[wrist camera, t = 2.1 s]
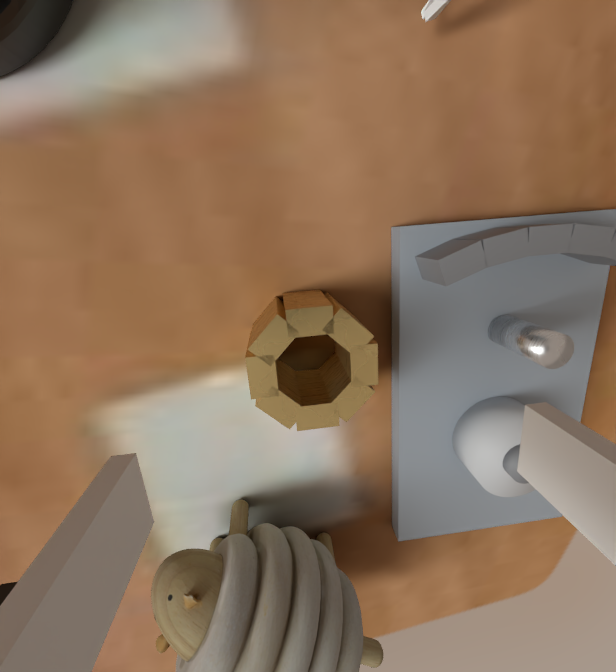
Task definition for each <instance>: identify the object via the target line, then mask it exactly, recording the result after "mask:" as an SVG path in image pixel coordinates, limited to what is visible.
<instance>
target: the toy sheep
mask: <svg viewBox="0 0 616 672" xmlns="http://www.w3.org/2000/svg"><path fill="white" fill-rule="evenodd" d="M248 510H249V506H248V503H247V502H246V501H245V500H237V501H236V502H235V503H234V504H233V506H232V513H231V521H230V530H229V535H228V537H226V538H225V539H223V538H216V539H214V540H213V541H212V542H211V545H210V550H204V549H186V550H182V551H179V552H176V553H174V554H172V555H171V556H169V557H168V558H166V559H165V560H164V561H163V563H162V564H161V565H160V567H159V568H158V570H157V572H156V574H155V576H154V579H153V583H152V590H151V599H152V608H153V612H154V616H155V620H156V622H157V624H158V626H159V628H160V630H161V632H162V635H160V636H159V637H158V638H157V640H156V648H157V651H158V652H159V653H163V652H165V651H166V650H167V649H168V647H169V646H171V647H172V648H173V649H174V651H175V652H176V653H177V661H176V672H359V668H360V664H363V665H367V666H370V667H378V666H379V665H380V664H381V663H382V660H383V650H382V647H381V644H380V643H379V642H378V641H377V640H375V639H372V638H368V637H365V636H363V628H362V618H361V610H360V606H359V602H358V598H357V595H356V592H355V589H354V587H353V585H352V583H351V581H350V580H349V578H348V577H347V576H346V574H345V573H344V572H342V571H341V570H340V569H338V568H337V566H336V563H335V557H334V551H333V546H332V540H331V537H330V535H329V534H328V533H320V534H319V535H318V536H317V538H316V540H314V539H309V537H308V536H307V535H306V533H304V532H303V531H302V530H301V529H299V528H296V527H291V526H288V527H283V528H281V529H279V528H278V527H276V526H274V525H272V524H270V523H263V524H260V525H257V526H255V527H253V528H252V529H251V530H250V531H249V532H248V530H247V527H248Z"/></svg>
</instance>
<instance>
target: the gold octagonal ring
mask: <svg viewBox="0 0 616 672" xmlns="http://www.w3.org/2000/svg"><path fill="white" fill-rule="evenodd" d="M326 334H327V335H329V336H330V337H331V338H332V339H334V340H335V352H334V353H333V354H332V355H331V356H330V357H329V358H328V359H327V360H326V362H325V363H324V364H323V365H322V366H321V367H320V368H319V369H310V370H301V371H295V370H294V369H292V368H291V367H290V366H288V365H287V364H286V363H284V362H283V361H282V360H280V359H279V358H278V357H279V356H280V355H281V354H282V353H283V351H284V350H285V349H286V348H287V347H288V346H289V344H290V343H291V342H292V341H293V340H294V339H295V338H297V337H306V336H316V335H326ZM373 337H374V335H373V334H372V333H371V332H370V331H369V330H368V329H367V328H366V327H365V326H364V325H363V324H362V323H361V322H360V321H359V320H358V319H357V318H356V317H355V316H354V315H353V314H352V313H351V312H349V311H348V310H347V309H346V308H345V307H344V306H342V305H341V304H340V303H339V302H338V301H337V300H335V299H334V298H333V297H332V296H331V295H329V294H328V293H327V292H325V293H324V294H323V293H322V292H321V291H320V290H309V291H298V292H288V293H283V301H281V300H280V299H279V298H278V297H275V298H274V299H273V301H272V302H271V303H270V304H269V306H268V307H267V308H266V309H265V310H264V312H263V313H262V314H261V315H260V316H259V318H258V319H257V320H256V321H255V322H254V324H253V326H252V331H251V333H250V338H249V343H248V347H247V352H246V357H245V359H246V366H247V373H248V380H249V387H250V394H251V399H256V407H258V408H259V409H261V410H262V411H264V412H265V413H267V414H268V415H270V416H271V417H272V418H274V419H275V420H277V421H278V422H280V423H281V424H283V425H284V426H286V427H287V428H289V429H290V428H291V427H292V426H293V425H294V424H295V423H296V424H297V431H301V430H309V429H317V428H325V427H333V426H339V417H340V418H342V419H343V420H344V421H346V422H347V421H348V420H349V419H350V418H351V417H352V416H353V415H354V414H355V413H356V412H357V411H358V410H359V408H360V407H361V406H362V405H363V404H364V403H365V402H366V401H367V400H368V399H369V398H370V397H371V396H372V395H373V394H374V393H375V391H374V389H373V387H372V386H371V385H378V343H377V342H376V341H375V340H374V339H373Z"/></svg>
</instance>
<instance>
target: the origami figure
mask: <svg viewBox="0 0 616 672" xmlns="http://www.w3.org/2000/svg"><path fill="white" fill-rule="evenodd" d="M450 1H451V0H428V2H427V3H426V5H425V6H424V8H423V9H422V11H421V14H422V18H423V19H425V20H426V22H427V21H430V20H433V19H436V17H437V16H438V15H439V14H440V13H441V11H442V10H443V9H444V8H445V7H446V5H447V4H448V3H449V2H450Z"/></svg>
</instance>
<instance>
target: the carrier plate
mask: <svg viewBox="0 0 616 672" xmlns="http://www.w3.org/2000/svg"><path fill="white" fill-rule="evenodd" d="M391 247H392V527H393V530H394V532H395V535H396V537H397V539H398V542H399V541H405V540H412V539H418V538H425V537H431V536H438V535H444V534H451V533H457V532H464V531H471V530H477V529H484V528H490V527H497V526H503V525H510V524H516V523H523V522H529V521H536V520H542V519H549V518H555V517H562V514H561V513H560V512H559V511H558V510H557V509H556V508H555V507H554V506H553V505H552V504H551V503H550V502H549V501H547V500H546V499H545V498H544V497H543V496H542V495H541V494H540V493H539V492H538V491H537V490H536V489H535V488H534V487H533V486H532V485H531V484H530V483H529V482H528V481H527V480H526V479H525V478H523V477H522V476H521V475H520V474H519V473H518V472H517V468H518V459H519V451H520V443H521V434H522V426H523V418H524V410H525V405H527V404H535V403H543V402H546V403H548V404H550V405H551V406H553V407H555V408H556V409H558V410H560V411H561V412H563V413H565V414H566V415H568V416H570V417H571V418H573V419H575V420H576V421H578V422H580V421H581V416H582V410H583V405H584V400H585V395H586V389H587V384H588V379H589V374H590V369H591V363H592V358H593V353H594V348H595V342H596V337H597V332H598V327H599V321H600V316H601V311H602V306H603V300H604V295H605V290H606V285H607V280H608V274H609V269H610V265H612V266H616V209H609V210H595V211H583V212H570V213H558V214H546V215H534V216H521V217H509V218H497V219H484V220H472V221H460V222H447V223H435V224H423V225H410V226H398V227H391ZM503 314H507V315H511V316H514V317H516V318H519V319H522V320H525V321H528V322H531V323H534V324H537V325H539V326H542V327H545V328H548V329H551V330H554V331H557V332H560V333H563V334H565V335H568V336H570V337H571V338H572V340H573V342H574V353H573V355H572V357H571V359H570V360H569V361H568V362H567V363H566V364H565V365H564V366H562V367H560V368H557V369H547V368H545V367H543V366H541V365H539V364H537V363H535V362H533V361H531V360H529V359H527V358H525V357H523V356H521V355H519V354H517V353H515V352H513V351H511V350H509V349H507V348H505V347H503V346H501V345H498V344H496V343H494V342H493V341H491V340H490V338H489V336H488V327H489V325H490V323H491V321H492V320H493V319H494V318H496V317H497V316H499V315H503Z"/></svg>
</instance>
